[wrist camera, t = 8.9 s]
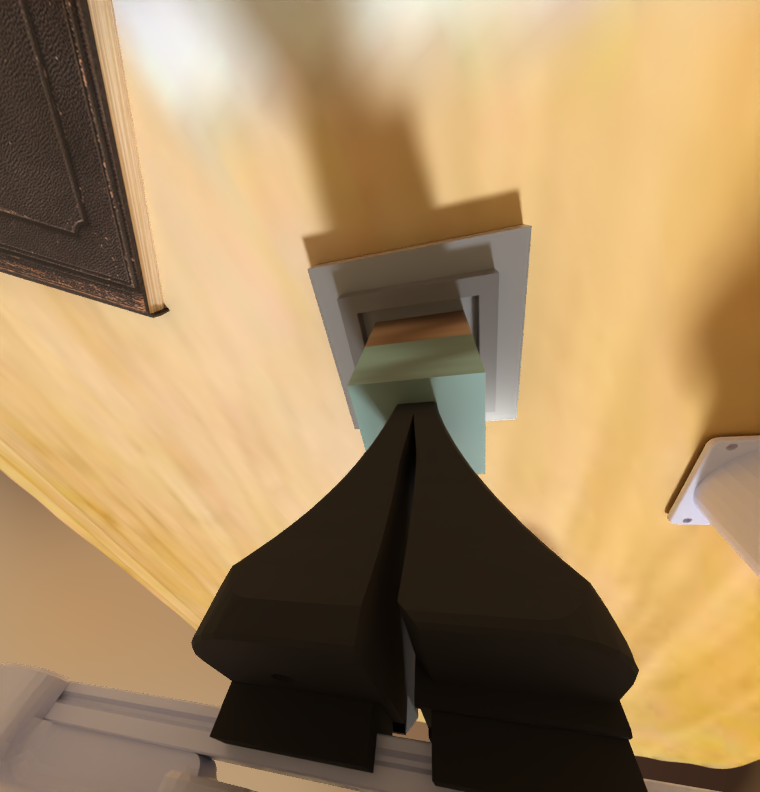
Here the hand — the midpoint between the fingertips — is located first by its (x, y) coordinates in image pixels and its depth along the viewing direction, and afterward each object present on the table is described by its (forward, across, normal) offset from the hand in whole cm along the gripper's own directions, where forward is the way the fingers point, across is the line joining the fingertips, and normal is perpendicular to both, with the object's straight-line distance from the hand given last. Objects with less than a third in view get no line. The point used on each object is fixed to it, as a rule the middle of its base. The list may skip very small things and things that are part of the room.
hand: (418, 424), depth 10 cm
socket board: (+8, 0, 0) cm, 8 cm away
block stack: (+6, 0, 0) cm, 6 cm away
